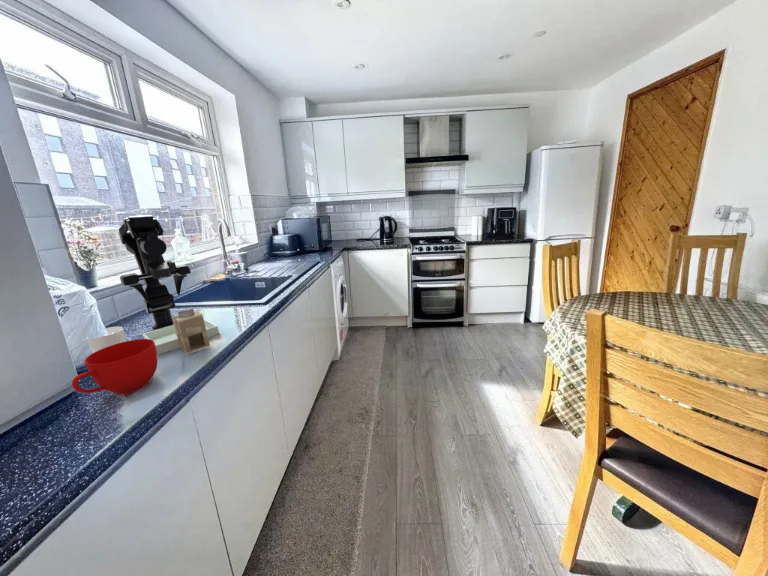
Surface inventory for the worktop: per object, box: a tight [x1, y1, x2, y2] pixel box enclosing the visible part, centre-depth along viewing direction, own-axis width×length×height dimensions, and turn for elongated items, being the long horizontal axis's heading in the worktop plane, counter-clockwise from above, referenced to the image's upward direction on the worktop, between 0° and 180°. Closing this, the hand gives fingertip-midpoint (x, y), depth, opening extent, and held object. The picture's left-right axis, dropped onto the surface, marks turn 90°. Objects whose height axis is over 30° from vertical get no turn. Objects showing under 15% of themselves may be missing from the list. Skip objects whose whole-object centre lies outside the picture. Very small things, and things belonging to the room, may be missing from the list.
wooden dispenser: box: [172, 307, 211, 355], centre depth 92 cm, size 6×6×12 cm
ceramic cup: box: [71, 338, 158, 396], centre depth 71 cm, size 13×17×10 cm
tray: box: [142, 317, 220, 356], centre depth 102 cm, size 16×18×3 cm
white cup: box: [85, 326, 127, 354], centre depth 86 cm, size 8×8×10 cm
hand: (163, 298), depth 104 cm, fingers open, 9 cm apart
